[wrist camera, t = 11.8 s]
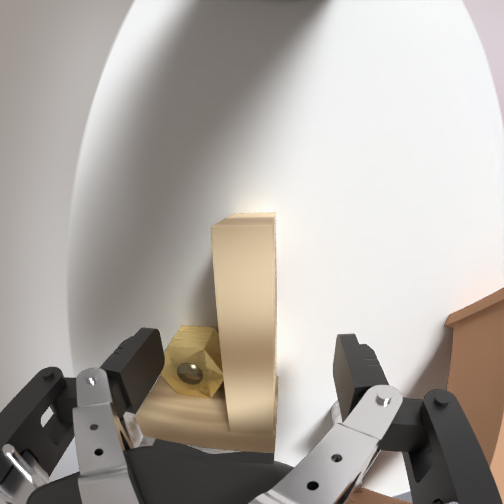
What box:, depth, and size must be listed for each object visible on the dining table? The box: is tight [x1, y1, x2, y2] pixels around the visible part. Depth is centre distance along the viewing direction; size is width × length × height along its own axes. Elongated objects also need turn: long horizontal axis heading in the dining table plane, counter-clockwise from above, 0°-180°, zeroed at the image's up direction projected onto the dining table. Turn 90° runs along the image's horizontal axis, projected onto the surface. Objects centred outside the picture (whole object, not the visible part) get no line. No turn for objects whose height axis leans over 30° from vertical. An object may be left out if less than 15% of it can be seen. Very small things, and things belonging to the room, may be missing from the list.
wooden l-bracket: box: [135, 212, 278, 453], centre depth 16 cm, size 14×9×6 cm, turn 2°
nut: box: [160, 325, 224, 398], centre depth 19 cm, size 4×5×3 cm
